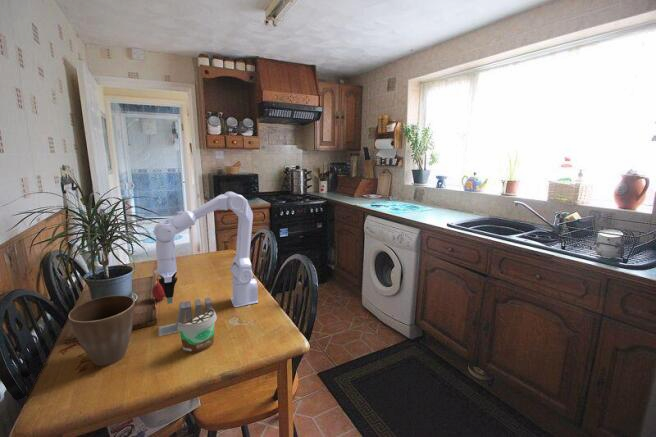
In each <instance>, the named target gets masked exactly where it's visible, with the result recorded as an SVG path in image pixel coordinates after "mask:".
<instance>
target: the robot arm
mask: <svg viewBox="0 0 656 437" xmlns="http://www.w3.org/2000/svg"><path fill="white" fill-rule="evenodd" d="M219 210H221V211H223V210H224V211H228V210H231V211H232V212H233V213H234V214H235V215H236V216H237V217H238V222H237V235H236V246H235V247H236V248H235V256H234V258H233V260H232V264H231V265H230V269H229V270H230V271H229V272H230V273H231V275H232V278H231V279H232V280H231V281H232V297H230V301H231V303H232V305H233V308H239V307H243V306H247V305H248V306H249V305H253V304H257V303H259V294H258V293H259V290H258V289H259V288H258V282H257V279H256V278H254V271H253V269H252V262H251V259H250V253H251V242H252V241H251V240H252V232H253V229H252V228H253V220H254V212H253V210H252V208H251V206H250V204H249V200H248V199H246V198H245V197H244V196H243V195H242V194H238V193H236V192H234V191H226V192H225V193H224V194H223V193H221V194H219V195H217V196H216V197H214V198H212V199H210V200H209V201H207V202H205V203H204V204H201V206H199V207H197V208H195V209H193V210H192V211H189V210H184V211H183V210H180V211H178V214H176V215H174V216H172V217H171V218H167V217H166V218H165V219H164V221H161V222H158V223H157V224H156V225H155V226H154V228H153V231H152V232H153V234H154V236H155V251H156V252H155V253H156V263H157V269H155V270H153V274H155V275H157V274H158V276H159V277H160V278H158V282H159V283H160V285H161V286H162V288H163V290H164V293H165V296H166V297H165V298H166V299H167V298H170V297H172V298H173V297H174V294H175V286H176V283H177V281H178V277H177V276H176V275H177V272H178V267H177V257H176V245H175V241H174V240H175V239H174V238H175V236H176V235H179V234H180V233H183V232H184V231H185V230H188V229H190V228H191V227H192V226H193V227H194V226H195V225H196V222H197V220H198V219H200V218H203V217H206V216H207V215H208V214H209V215H210V214H211V213H212V212H215V211H219Z"/></svg>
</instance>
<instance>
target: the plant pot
mask: <svg viewBox="0 0 656 437" xmlns="http://www.w3.org/2000/svg"><path fill="white" fill-rule="evenodd" d="M134 316H135V299H134V298H133V297H132V296H129V295H123V294H120V295H119V294H116V295H106V296H101V297H98V298H93V299H91V300H87V301H85V302H83V303H80V304H79V305H77V306H75V307H74V308H73V309H71V310H70V312H69V313H68V320H69V322H70V325H71V327H72V329H73V332H74V334H75V337H76V339H77V341H78V342H79V344H80V346H81V347H82V349H83V350H84V352H85V354H86V355H87V356H88V357H89V359H90V360H91V361H92V363H94V365H95V366H98V367H105V366H110V365H113V364H115V363H118V362H119V361H120V360H122V359H124V357H125V355H126V352H127V350H128V347H129V343H130V340H131V335H132V330H133V323H134Z"/></svg>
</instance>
